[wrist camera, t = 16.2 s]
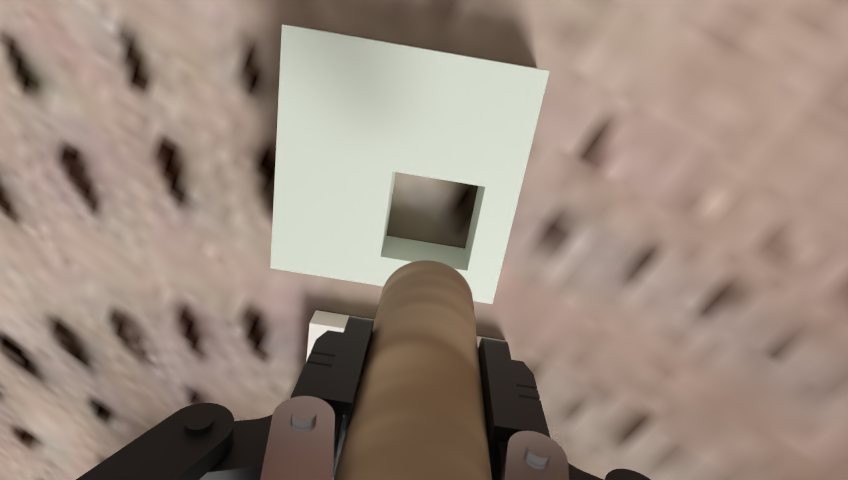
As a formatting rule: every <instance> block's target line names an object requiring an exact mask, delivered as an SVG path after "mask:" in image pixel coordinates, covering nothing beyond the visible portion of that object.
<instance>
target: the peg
mask: <svg viewBox="0 0 848 480" xmlns="http://www.w3.org/2000/svg"><path fill="white" fill-rule="evenodd" d="M334 480H492V475H491V466H490V456H489V447H488V438H487V429H486V419H485V410H484V400H483V391H482V381H481V372H480V363H479V353H478V343H477V334H476V324H475V315H474V306H473V297H472V292H471V289H470V287H469V284H468V283H467V281H466V280H465V278H464V277H463V276H462V275H461V274H460V273H459V272H458V271H457V270H455V269H454V268H452V267H450V266H448V265H446V264H444V263H441V262H437V261H430V260H422V261H415V262H411V263H408V264H406V265H404V266H402V267H400V268H399V269H397V270H396V271H395V272H394V273H393V274H392V275H391V276H390V277H389V278H388V279H387V281H386V283H385V285H384V287H383V290H382V294H381V298H380V302H379V305H378V309H377V313H376V317H375V321H374V326H373V333H372V337H371V341H370V345H369V349H368V353H367V357H366V361H365V364H364V368H363V372H362V376H361V380H360V384H359V388H358V392H357V396H356V400H355V404H354V408H353V412H352V416H351V420H350V424H349V426H348V429H347V431H346V434H345V437H344V441H343V445H342V449H341V453H340V457H339V461H338V464H337V468H336V472H335V476H334Z"/></svg>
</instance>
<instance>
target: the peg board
mask: <svg viewBox="0 0 848 480" xmlns="http://www.w3.org/2000/svg"><path fill="white" fill-rule="evenodd" d="M548 75H549V71H547V70H543V69H539V68H534V67H528V66H523V65H517V64H511V63H505V62H500V61H494V60H488V59H482V58H477V57H471V56H465V55H460V54H454V53H448V52H442V51H437V50H431V49H425V48H419V47H414V46H408V45H402V44H396V43H391V42H385V41H379V40H374V39H368V38H362V37H356V36H351V35H345V34H339V33H333V32H328V31H322V30H316V29H310V28H305V27H298V26H290V25H282V34H281V55H280V76H279V98H278V119H277V140H276V161H275V183H274V204H273V225H272V246H271V268H273V269H279V270H285V271H292V272H298V273H304V274H310V275H316V276H322V277H329V278H335V279H341V280H347V281H353V282H360V283H366V284H372V285H378V286H384V285H385V283H386V281H387V279H388V278H389V277H390V276H391V275H392V274H393V273H394V272H395V271H396V270H397V269H399V268H400V267H402V266H404V265H406V264H408V263H411V262H415V261H422V260H430V261H437V262H441V263H444V264H446V265H448V266H450V267H452V268H454V269H455V270H457V271H458V272H459V273H460V274H461V275H462V276H463V277H464V278H465V280H466V281H467V283H468V284H469V287H470V289H471V292H472V297H473V301H477V302H483V303H489V304H493V299H494V295H495V291H496V287H497V283H498V279H499V275H500V271H501V267H502V263H503V259H504V255H505V251H506V247H507V242H508V238H509V234H510V230H511V226H512V222H513V218H514V214H515V210H516V206H517V202H518V198H519V194H520V189H521V185H522V181H523V177H524V173H525V169H526V165H527V161H528V157H529V153H530V149H531V145H532V141H533V136H534V132H535V128H536V124H537V120H538V116H539V112H540V108H541V104H542V100H543V96H544V92H545V88H546V83H547V79H548ZM396 172H400V173H405V174H411V175H417V176H423V177H429V178H435V179H441V180H447V181H453V182H459V183H465V184H471V185H477V186H478V190H477V194H476V199H475V204H474V209H473V213H472V218H471V223H470V228H469V232H468V237H467V242H466V247H465V248H459V247H453V246H447V245H441V244H435V243H428V242H422V241H416V240H410V239H404V238H398V237H392V236H387V231H388V224H389V217H390V210H391V203H392V196H393V189H394V182H395V175H396Z"/></svg>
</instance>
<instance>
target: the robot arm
mask: <svg viewBox="0 0 848 480" xmlns="http://www.w3.org/2000/svg"><path fill="white" fill-rule="evenodd" d="M373 326H374V320H372V319H365V318H359V317H353V316H349V318H348V321H347V323H346V326H345V329H344V332H337V331H330V330H327V331H326V332H325V333H324V334H322V335H321V336H320V337H318V338H317V339H316V341H315V343H314V345H313V348H312V350H311V353H310V354H309V357H308V359H307V362H306V363H305V366H304V368H303V370H302V373H301V375H300V377H299V379H298V382H297V384H296V386H295V389H294V391H293V393H292V395H291V398H290V399H288V400H286V401H284V402H282V403H281V404H280V405H278V407H277V408H276V409H275V411H274V412H273V414H272V415H270V416H267V417H264V418H260V419H253V420H243V421H234V418H233V415H232V413H231V412H230V411H229V410H228V409H227V408H225V407H223V406H221V405H218V404H213V403H199V404H194V405H190V406H187V407H185V408H182V409H180V410H179V411H177V412H175V413H174V414H172V415H171V416H169V417H168V418H166V419H165V420H163V421H162V422H161V423H159V424H158V425H156V426H155V427H153V428H152V429H150V430H149V431H147V432H146V433H144V434H143V435H141V436H140V437H138V438H137V439H135V440H134V441H132V442H131V443H130V444H128V445H127V446H125V447H124V448H122V449H121V450H119V451H118V452H116V453H115V454H113V455H112V456H110V457H109V458H107V459H106V460H104V461H103V462H101V463H100V464H98V465H97V466H96V467H94V468H93V469H91V470H90V471H88V472H87V473H85V474H84V475H82V476H81V477H79V478H78V479H76V480H333V478H334V476H335V472H336V468H337V464H338V461H339V457H340V453H341V449H342V445H343V441H344V437H345V434H346V431H347V429H348V426H349V424H350V420H351V416H352V412H353V408H354V404H355V400H356V396H357V392H358V388H359V384H360V380H361V376H362V372H363V368H364V364H365V361H366V357H367V353H368V349H369V345H370V341H371V337H372V333H373ZM478 353H479V363H480V372H481V381H482V391H483V400H484V410H485V419H486V429H487V438H488V447H489V456H490V466H491V475H492V480H603V479H600V478H598V477H596V476H593V475H591V474H588V473H586V472H584V471H581V470H579V469H577V468H576V467H574V466H572V465H571V464H569V463H568V460H567V456H566V454H565V452H564V450H563V449H562V448H561V447H560V445H559V444H557V443H556V442H555V441H554V440H553V439H551V438H550V435H549V431H548V427H547V424H546V420H545V416H544V412H543V409H542V405H541V401H539V399H540V397H539V393H538V390H537V386H536V382H535V378H534V375H533V373H532V372H531V371H530V369H529V368H528V367H527V366H526V365H525V363H524V362H522V361H516V360H511V356H510V351H509V346H508V343H507V341H500V340H494V339H488V338H481V340H480V343H479V347H478ZM605 480H650V479H649V478H647V477H646V476H644V475H642V474H640V473H638V472H635V471H632V470H628V469H615V470H612V471H611V472H609V473H608V474H607V475H606V478H605Z"/></svg>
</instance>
